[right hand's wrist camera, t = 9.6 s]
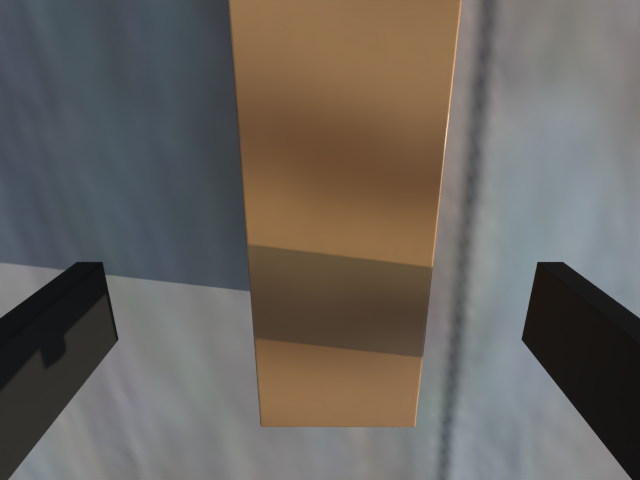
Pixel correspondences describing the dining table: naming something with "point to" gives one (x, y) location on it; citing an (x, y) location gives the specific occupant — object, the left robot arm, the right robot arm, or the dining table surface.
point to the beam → (341, 198)
